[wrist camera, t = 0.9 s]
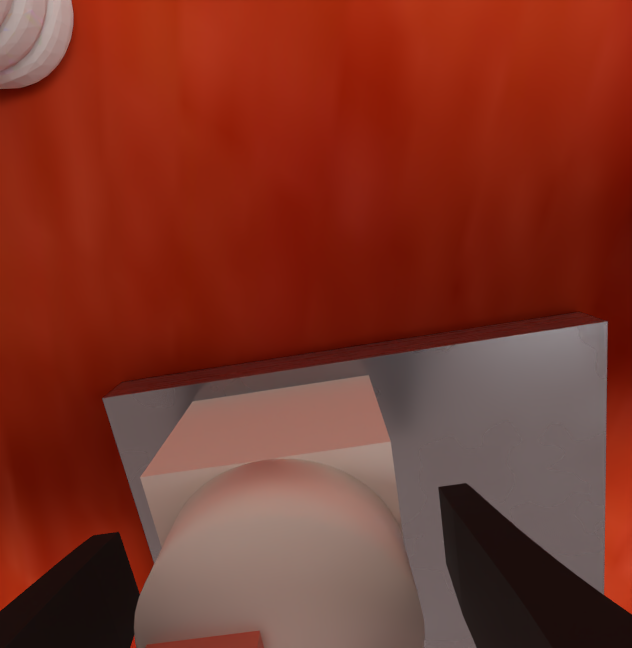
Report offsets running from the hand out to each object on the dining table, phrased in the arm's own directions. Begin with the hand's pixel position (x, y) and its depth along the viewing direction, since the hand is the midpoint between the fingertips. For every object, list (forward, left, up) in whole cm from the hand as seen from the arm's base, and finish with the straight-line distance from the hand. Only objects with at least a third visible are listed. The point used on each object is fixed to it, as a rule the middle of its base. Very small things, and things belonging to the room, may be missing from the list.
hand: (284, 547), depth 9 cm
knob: (0, 0, -3) cm, 3 cm away
